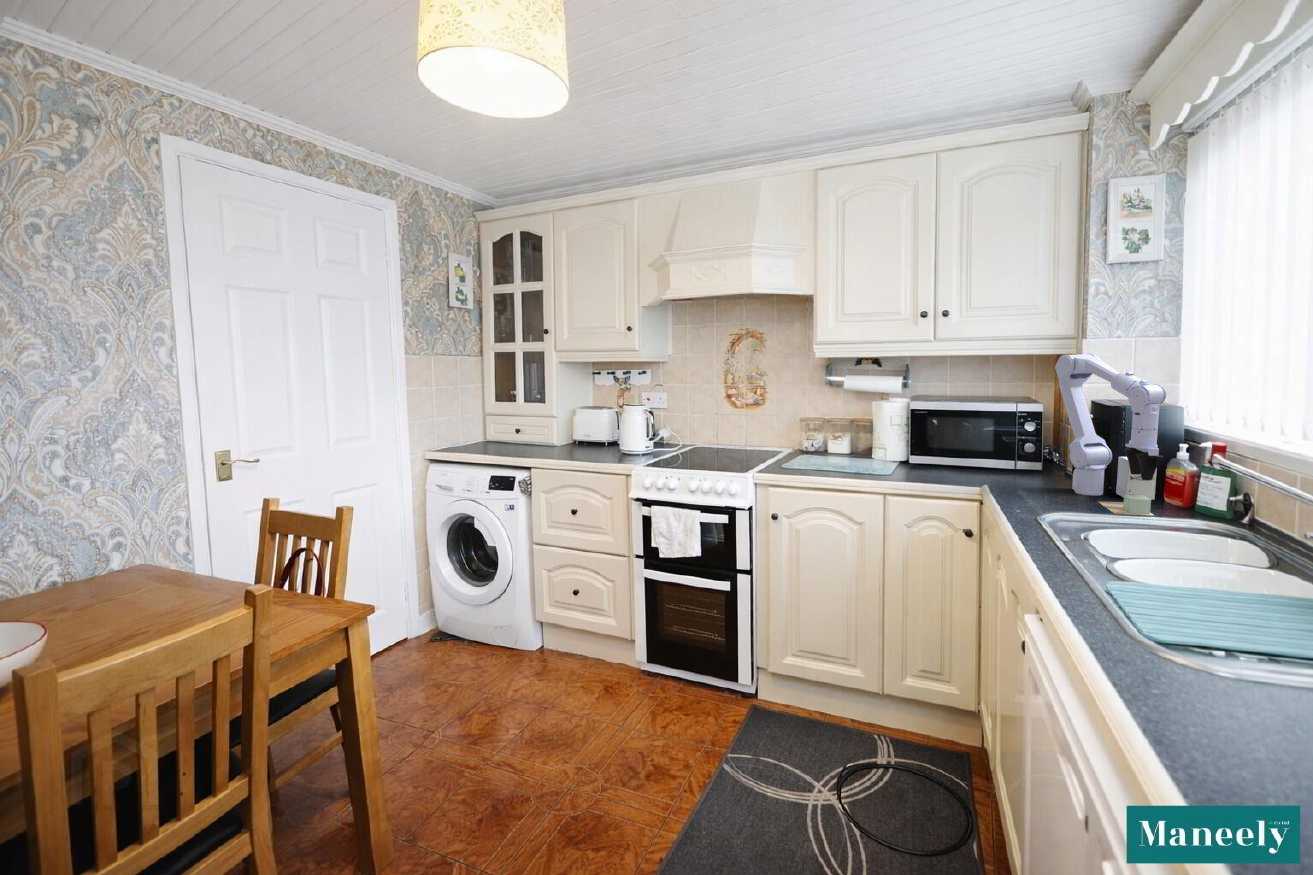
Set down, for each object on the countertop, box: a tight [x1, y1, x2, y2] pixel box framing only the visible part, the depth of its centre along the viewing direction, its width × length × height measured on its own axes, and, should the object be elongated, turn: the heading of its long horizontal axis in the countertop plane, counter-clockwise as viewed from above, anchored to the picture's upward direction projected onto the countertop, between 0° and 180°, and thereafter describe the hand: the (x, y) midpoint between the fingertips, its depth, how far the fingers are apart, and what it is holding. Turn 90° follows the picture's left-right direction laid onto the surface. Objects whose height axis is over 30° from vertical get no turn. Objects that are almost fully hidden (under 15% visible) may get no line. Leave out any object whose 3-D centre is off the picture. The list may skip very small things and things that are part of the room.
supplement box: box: [1115, 456, 1158, 500], centre depth 188 cm, size 7×7×13 cm
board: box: [1097, 501, 1156, 517], centre depth 176 cm, size 14×9×1 cm, turn 162°
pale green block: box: [1123, 495, 1152, 514], centre depth 172 cm, size 5×5×4 cm
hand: (1141, 477), depth 177 cm, fingers open, 7 cm apart
